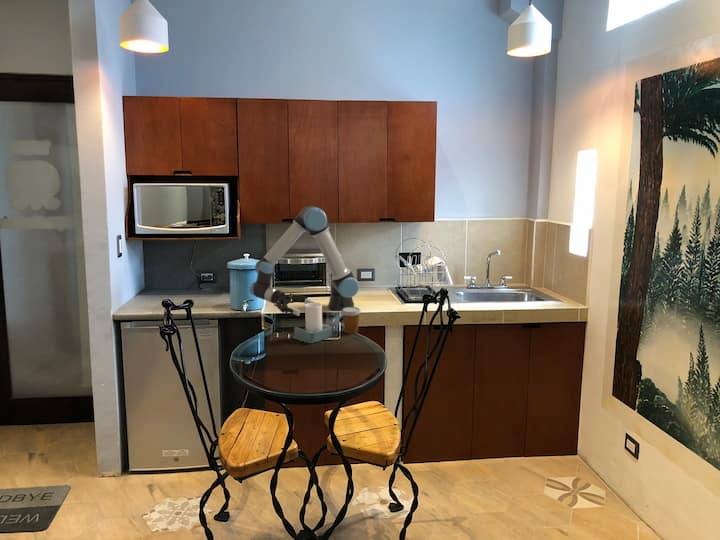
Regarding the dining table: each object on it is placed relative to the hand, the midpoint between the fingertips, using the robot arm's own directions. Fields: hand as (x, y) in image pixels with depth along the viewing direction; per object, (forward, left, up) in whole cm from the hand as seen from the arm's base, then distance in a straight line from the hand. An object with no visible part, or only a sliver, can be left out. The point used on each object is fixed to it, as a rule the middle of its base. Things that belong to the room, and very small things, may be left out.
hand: (307, 308), depth 288 cm
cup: (+4, +10, -11) cm, 15 cm away
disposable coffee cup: (-14, +18, -12) cm, 25 cm away
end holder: (+4, +10, -12) cm, 16 cm away
